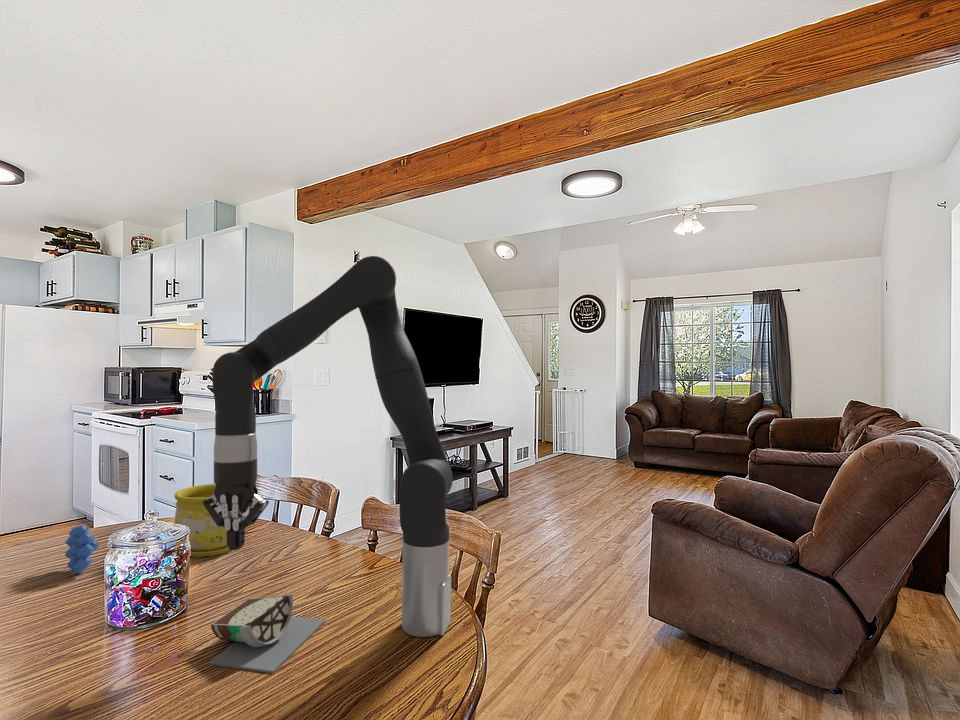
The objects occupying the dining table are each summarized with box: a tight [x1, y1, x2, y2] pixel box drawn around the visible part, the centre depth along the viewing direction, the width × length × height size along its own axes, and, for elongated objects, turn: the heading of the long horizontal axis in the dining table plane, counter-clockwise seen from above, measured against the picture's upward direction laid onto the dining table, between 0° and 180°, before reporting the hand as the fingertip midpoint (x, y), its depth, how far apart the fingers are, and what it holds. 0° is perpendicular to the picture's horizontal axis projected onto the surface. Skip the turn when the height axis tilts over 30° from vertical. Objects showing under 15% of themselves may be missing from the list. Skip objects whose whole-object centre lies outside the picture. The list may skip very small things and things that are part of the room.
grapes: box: [64, 524, 101, 575], centre depth 130 cm, size 12×7×12 cm, turn 55°
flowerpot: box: [174, 483, 232, 558], centre depth 147 cm, size 18×18×16 cm
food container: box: [210, 593, 294, 647], centre depth 99 cm, size 12×6×10 cm
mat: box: [208, 615, 326, 674], centre depth 99 cm, size 12×18×1 cm
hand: (235, 548), depth 100 cm, fingers closed
